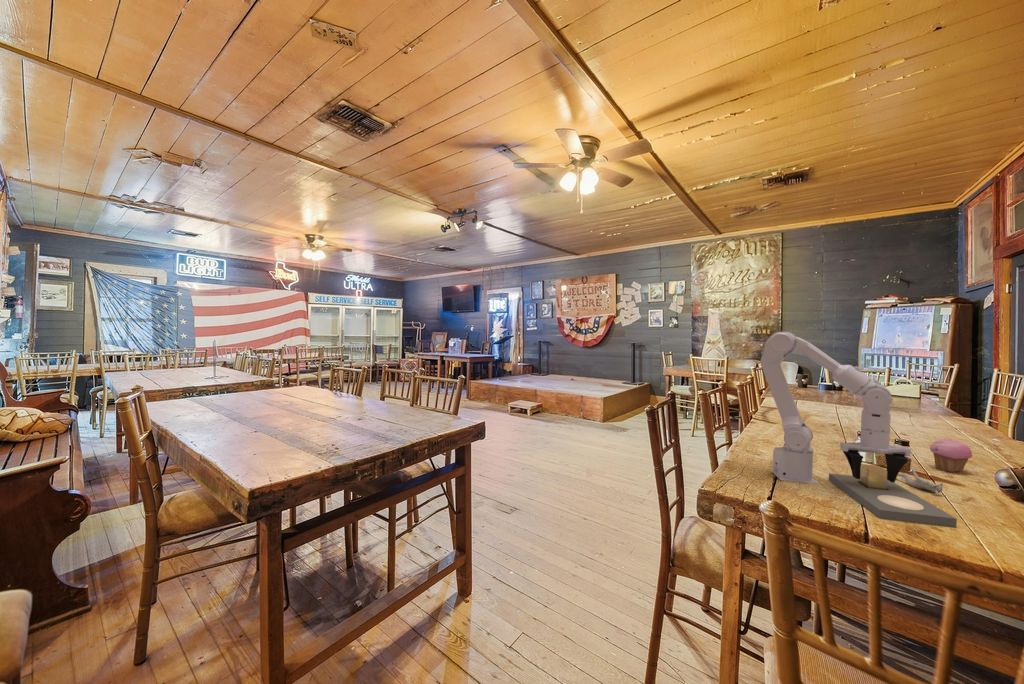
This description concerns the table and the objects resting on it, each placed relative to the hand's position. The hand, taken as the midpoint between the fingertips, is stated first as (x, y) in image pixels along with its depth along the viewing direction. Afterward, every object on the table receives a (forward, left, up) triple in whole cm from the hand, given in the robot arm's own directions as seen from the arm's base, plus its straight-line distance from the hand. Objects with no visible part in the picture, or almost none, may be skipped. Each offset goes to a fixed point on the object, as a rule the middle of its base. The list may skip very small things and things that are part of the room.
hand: (873, 479), depth 105 cm
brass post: (0, 0, -4) cm, 4 cm away
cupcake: (+35, +30, -4) cm, 46 cm away
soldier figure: (+15, +9, -5) cm, 18 cm away
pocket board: (0, -5, -4) cm, 7 cm away
